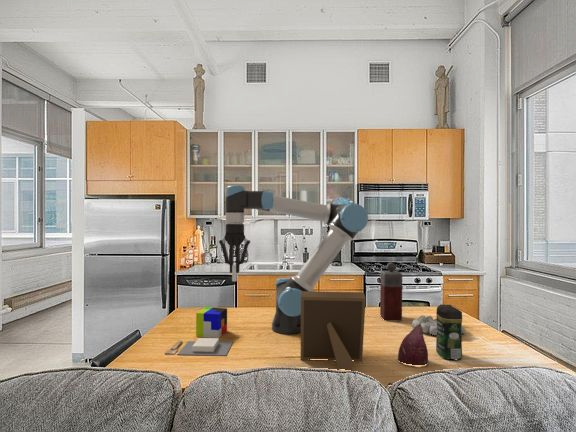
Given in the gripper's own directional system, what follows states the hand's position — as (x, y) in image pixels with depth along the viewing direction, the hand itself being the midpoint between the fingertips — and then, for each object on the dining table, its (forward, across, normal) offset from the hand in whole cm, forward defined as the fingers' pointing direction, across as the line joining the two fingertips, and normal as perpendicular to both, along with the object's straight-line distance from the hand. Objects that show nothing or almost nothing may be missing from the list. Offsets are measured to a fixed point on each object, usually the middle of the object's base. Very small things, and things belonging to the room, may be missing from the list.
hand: (234, 280), depth 152 cm
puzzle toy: (+25, +11, -8) cm, 28 cm away
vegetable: (+25, -67, +19) cm, 74 cm away
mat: (+24, +9, +10) cm, 28 cm away
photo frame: (+25, -38, +23) cm, 51 cm away
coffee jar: (+25, -82, +13) cm, 87 cm away
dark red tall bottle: (+25, -73, -37) cm, 85 cm away
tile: (+23, +5, +10) cm, 26 cm away
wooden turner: (+25, +21, +10) cm, 34 cm away
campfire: (+25, -89, -16) cm, 94 cm away
